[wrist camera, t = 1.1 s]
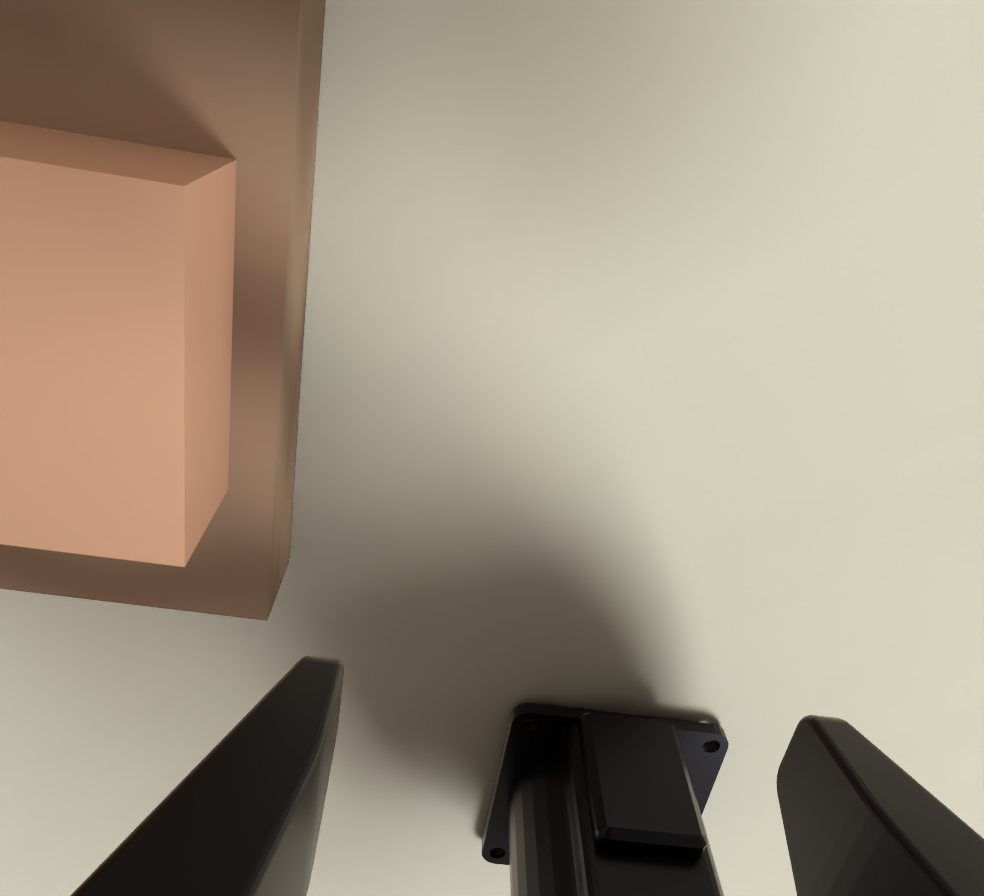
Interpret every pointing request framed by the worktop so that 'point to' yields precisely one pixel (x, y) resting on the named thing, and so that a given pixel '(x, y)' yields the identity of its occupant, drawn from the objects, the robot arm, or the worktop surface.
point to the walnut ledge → (257, 244)
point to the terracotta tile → (113, 343)
